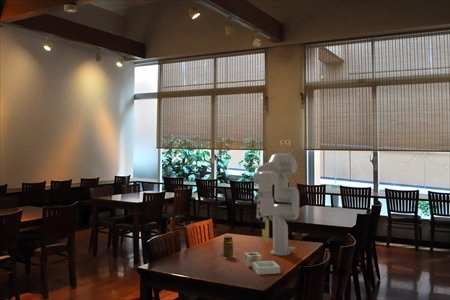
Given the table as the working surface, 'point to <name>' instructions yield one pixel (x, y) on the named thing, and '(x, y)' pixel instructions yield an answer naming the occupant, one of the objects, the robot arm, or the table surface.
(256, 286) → the table surface
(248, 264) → the socket block
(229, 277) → the table surface
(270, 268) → the tray
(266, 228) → the dowel
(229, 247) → the condiment
